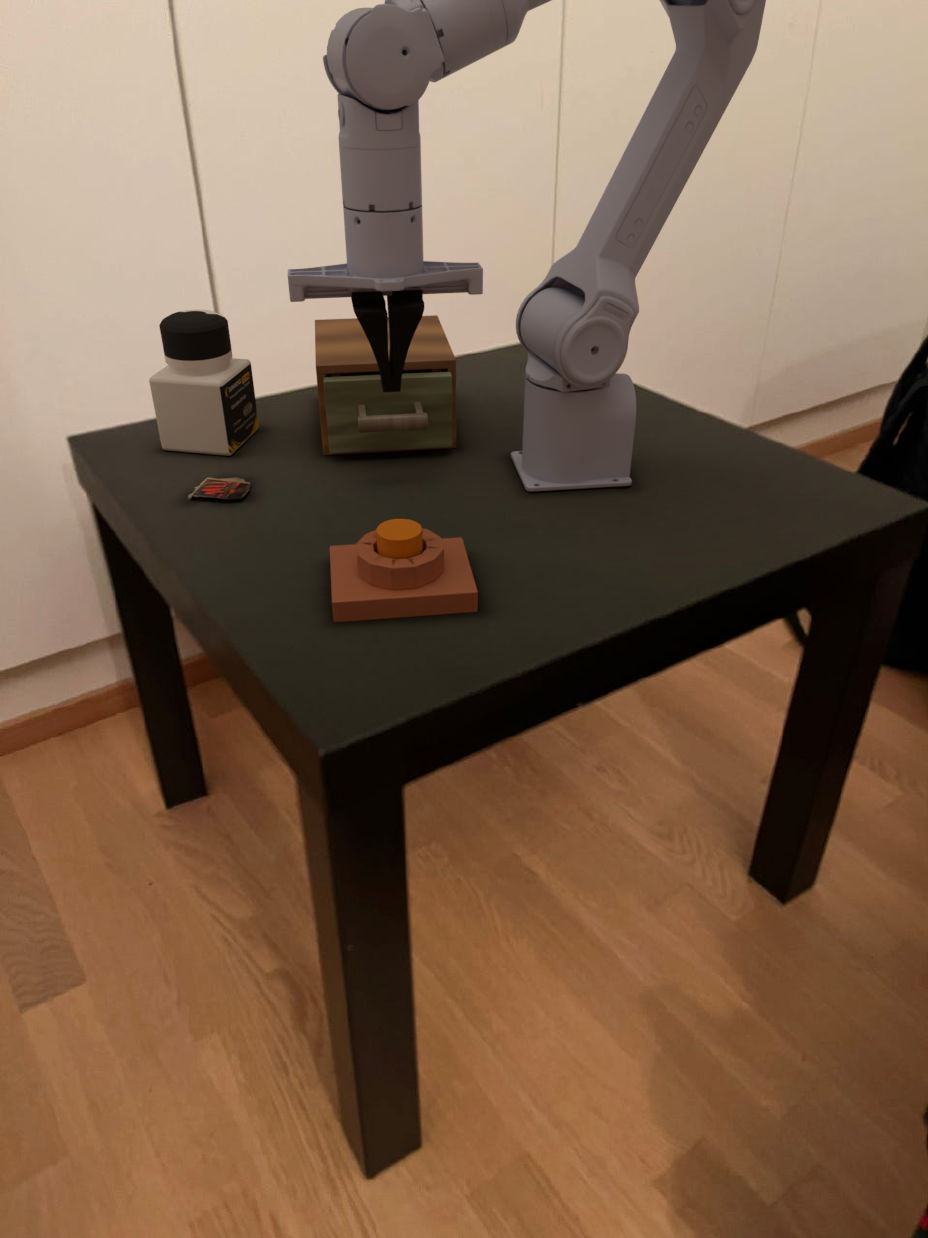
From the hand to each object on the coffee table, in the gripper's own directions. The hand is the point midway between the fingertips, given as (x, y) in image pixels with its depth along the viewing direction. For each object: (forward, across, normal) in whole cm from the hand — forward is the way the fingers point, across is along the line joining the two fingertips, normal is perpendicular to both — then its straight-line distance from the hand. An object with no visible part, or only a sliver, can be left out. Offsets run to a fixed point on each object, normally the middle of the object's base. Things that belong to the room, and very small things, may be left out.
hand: (390, 387), depth 75 cm
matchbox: (+10, -15, +3) cm, 18 cm away
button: (+7, -1, -15) cm, 16 cm away
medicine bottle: (+10, -16, +15) cm, 25 cm away
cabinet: (+10, 0, +17) cm, 20 cm away
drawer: (+9, 0, +12) cm, 15 cm away
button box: (+10, -1, -15) cm, 18 cm away
